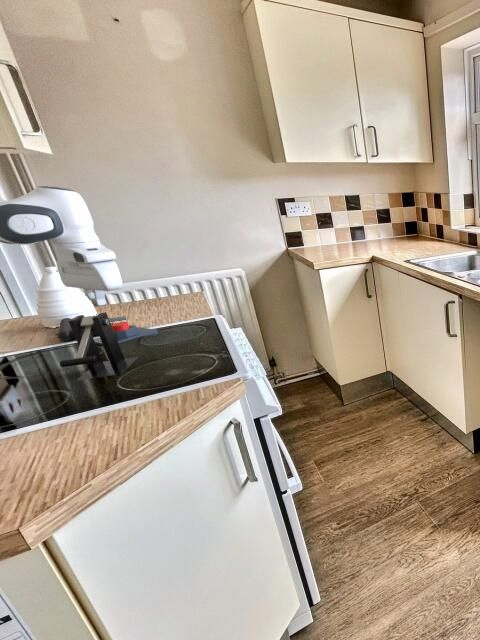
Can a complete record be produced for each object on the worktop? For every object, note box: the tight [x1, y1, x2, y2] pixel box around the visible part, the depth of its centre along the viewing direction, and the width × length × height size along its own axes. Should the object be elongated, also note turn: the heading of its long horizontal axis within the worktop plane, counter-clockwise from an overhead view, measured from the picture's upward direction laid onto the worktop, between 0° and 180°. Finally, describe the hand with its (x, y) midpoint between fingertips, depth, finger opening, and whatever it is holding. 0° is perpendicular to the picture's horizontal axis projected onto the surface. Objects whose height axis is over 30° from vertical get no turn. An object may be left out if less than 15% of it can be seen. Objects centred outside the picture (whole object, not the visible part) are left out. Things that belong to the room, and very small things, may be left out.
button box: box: [93, 324, 159, 346], centre depth 118 cm, size 12×9×4 cm
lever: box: [59, 315, 98, 368], centre depth 91 cm, size 13×6×2 cm, turn 24°
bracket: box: [69, 312, 139, 382], centre depth 96 cm, size 11×8×14 cm
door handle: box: [52, 315, 128, 342], centre depth 128 cm, size 3×20×16 cm
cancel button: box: [111, 321, 130, 332], centre depth 117 cm, size 4×4×2 cm
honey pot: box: [34, 266, 98, 327], centre depth 134 cm, size 13×13×18 cm
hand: (99, 304), depth 114 cm, fingers closed
